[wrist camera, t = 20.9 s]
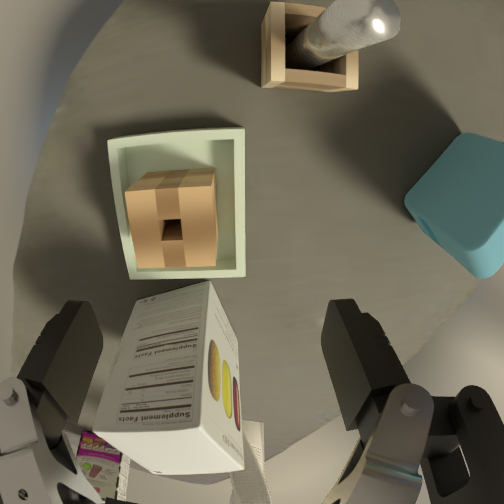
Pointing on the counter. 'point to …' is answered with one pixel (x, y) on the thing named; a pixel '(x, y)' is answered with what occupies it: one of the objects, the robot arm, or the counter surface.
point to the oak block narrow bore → (174, 218)
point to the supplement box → (176, 386)
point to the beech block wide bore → (273, 53)
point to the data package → (464, 203)
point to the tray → (181, 158)
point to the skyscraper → (251, 468)
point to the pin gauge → (343, 32)
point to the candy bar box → (103, 466)
